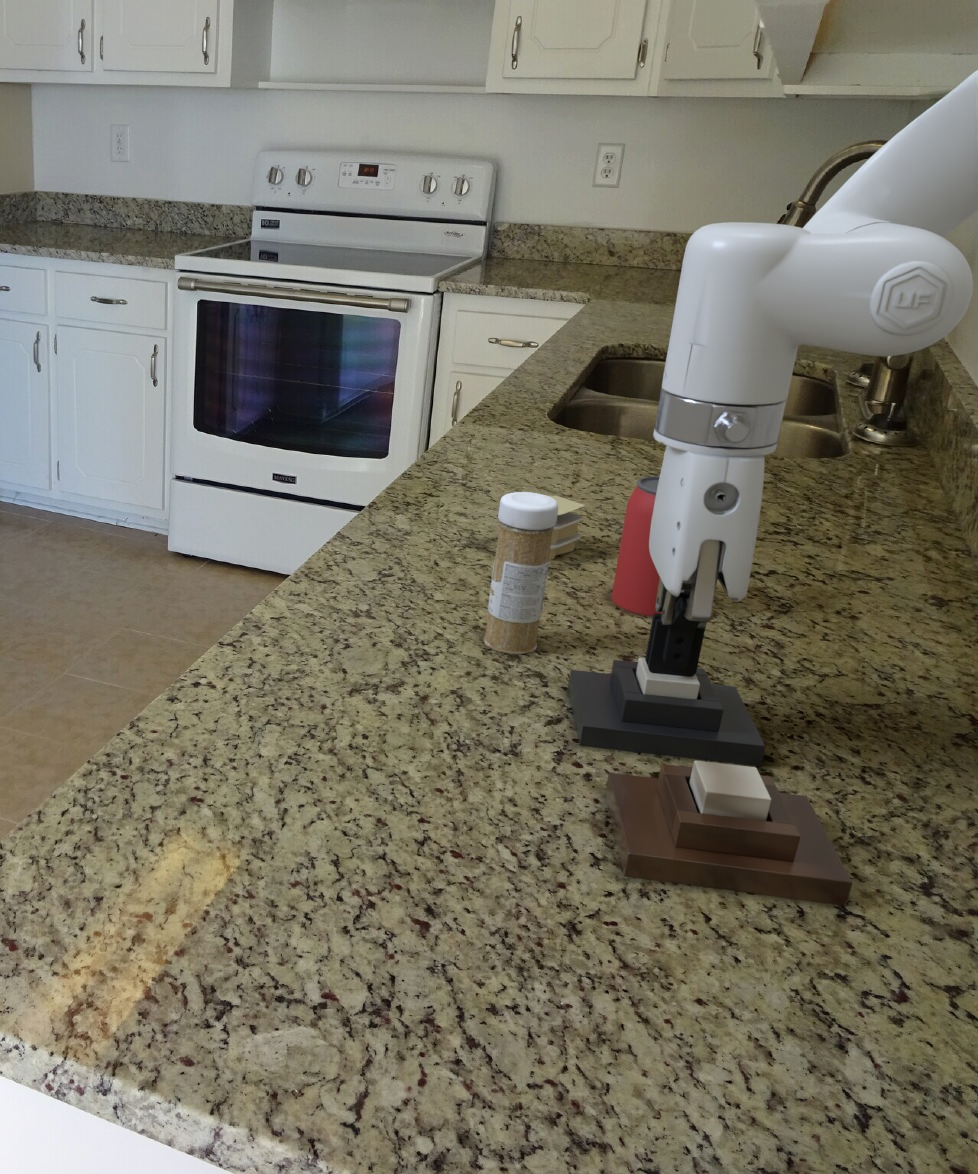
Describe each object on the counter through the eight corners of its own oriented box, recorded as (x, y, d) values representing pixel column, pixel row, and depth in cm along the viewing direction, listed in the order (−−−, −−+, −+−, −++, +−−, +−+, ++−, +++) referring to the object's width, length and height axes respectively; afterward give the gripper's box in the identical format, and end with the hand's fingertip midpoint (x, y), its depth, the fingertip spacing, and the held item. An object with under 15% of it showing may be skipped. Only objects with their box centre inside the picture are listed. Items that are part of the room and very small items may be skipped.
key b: (686, 683, 82) (690, 662, 81) (695, 706, 79) (700, 684, 78) (634, 677, 83) (638, 656, 82) (642, 700, 79) (646, 678, 79)
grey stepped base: (729, 711, 85) (740, 665, 83) (759, 773, 77) (771, 723, 75) (566, 694, 87) (573, 648, 86) (578, 752, 79) (586, 703, 78)
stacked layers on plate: (537, 534, 122) (544, 486, 120) (605, 559, 115) (613, 508, 113) (472, 550, 117) (478, 500, 115) (538, 578, 110) (546, 525, 108)
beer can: (693, 625, 100) (719, 498, 95) (617, 620, 101) (639, 493, 96) (676, 597, 106) (699, 476, 101) (604, 592, 107) (624, 472, 102)
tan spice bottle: (487, 633, 98) (505, 487, 92) (540, 643, 96) (562, 494, 91) (477, 654, 94) (496, 502, 89) (533, 664, 92) (555, 510, 87)
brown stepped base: (799, 824, 71) (813, 771, 70) (844, 914, 63) (861, 856, 62) (603, 800, 74) (613, 748, 72) (622, 884, 65) (633, 827, 64)
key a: (750, 791, 68) (756, 766, 68) (765, 824, 65) (772, 799, 64) (688, 783, 69) (693, 759, 68) (700, 816, 66) (706, 791, 65)
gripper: (812, 454, 66) (750, 726, 73) (751, 398, 79) (703, 632, 86) (678, 446, 67) (629, 713, 74) (640, 393, 81) (602, 623, 88)
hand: (669, 669), depth 80 cm, fingers closed
